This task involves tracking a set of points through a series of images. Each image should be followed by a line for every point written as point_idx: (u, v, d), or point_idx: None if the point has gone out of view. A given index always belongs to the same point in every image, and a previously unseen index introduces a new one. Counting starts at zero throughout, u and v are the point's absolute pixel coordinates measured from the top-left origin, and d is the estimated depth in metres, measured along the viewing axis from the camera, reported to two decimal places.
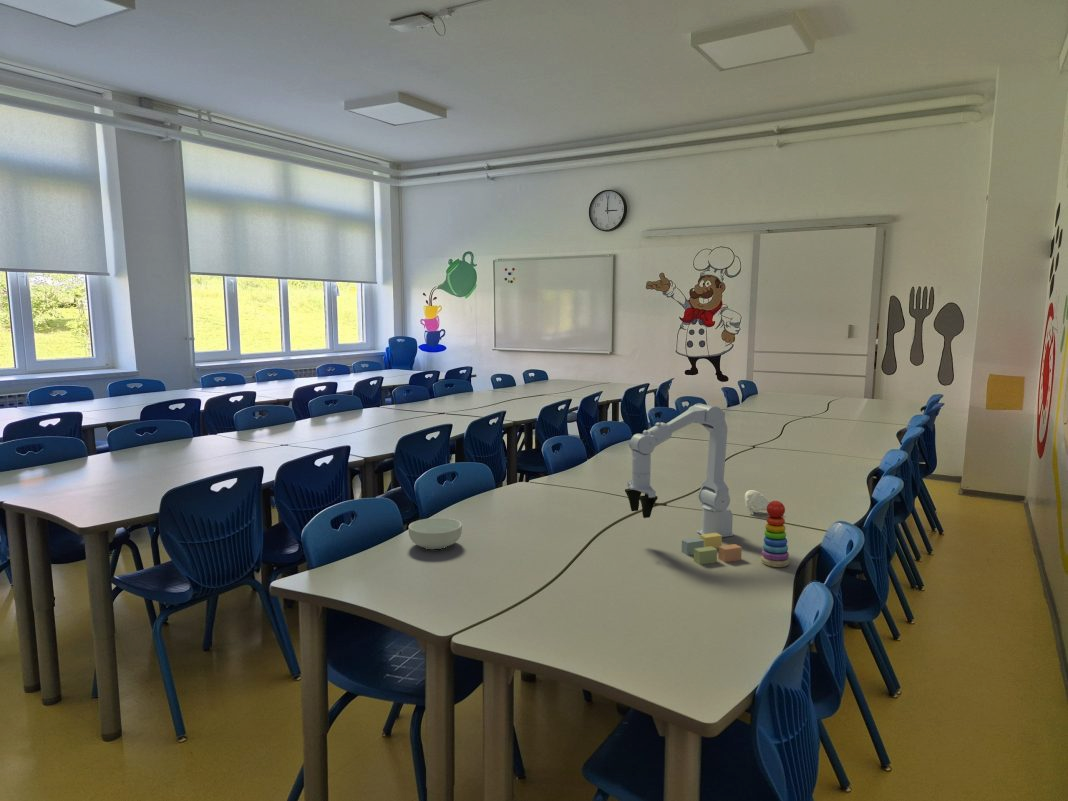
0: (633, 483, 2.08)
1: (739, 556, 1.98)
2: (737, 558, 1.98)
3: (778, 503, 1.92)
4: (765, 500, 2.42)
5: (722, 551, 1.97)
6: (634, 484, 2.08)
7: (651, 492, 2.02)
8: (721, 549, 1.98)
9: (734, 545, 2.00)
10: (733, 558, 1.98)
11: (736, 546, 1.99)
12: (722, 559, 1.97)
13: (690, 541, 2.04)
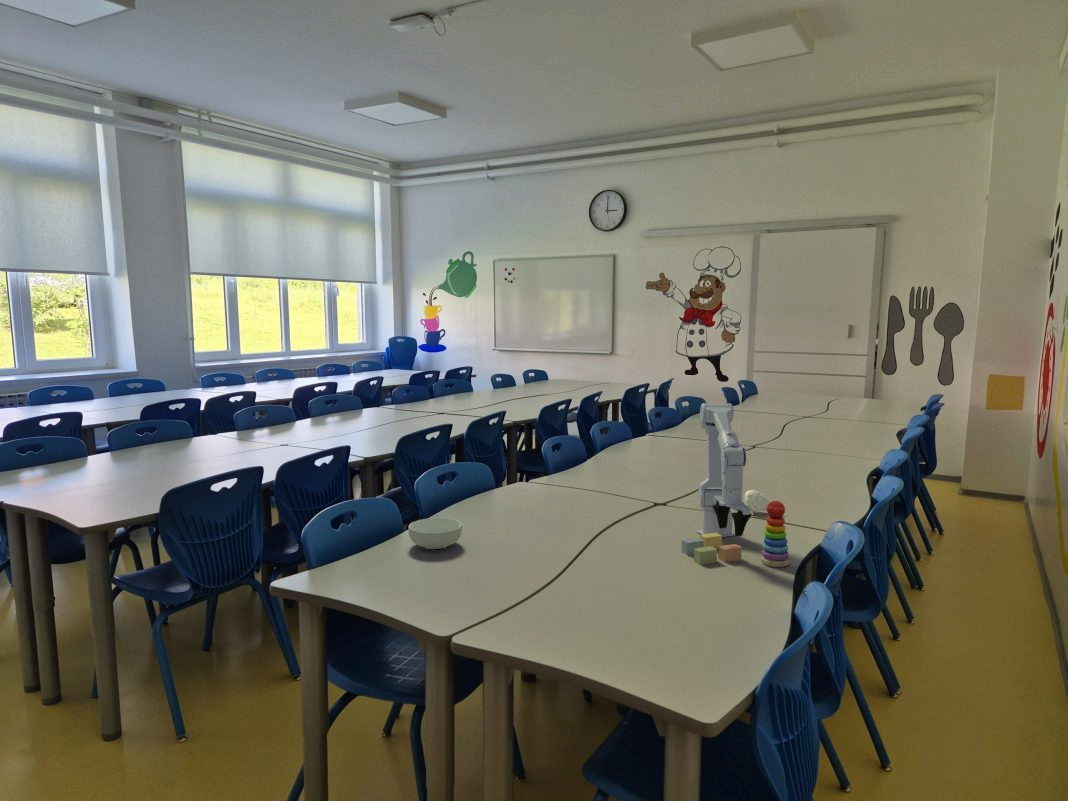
0: (724, 499, 1.95)
1: (739, 556, 1.98)
2: (737, 558, 1.98)
3: (778, 503, 1.92)
4: (765, 500, 2.42)
5: (721, 551, 1.97)
6: (725, 500, 1.95)
7: (746, 509, 1.90)
8: (721, 549, 1.98)
9: (734, 545, 2.00)
10: (733, 558, 1.98)
11: (736, 546, 1.99)
12: (722, 559, 1.97)
13: (690, 541, 2.04)
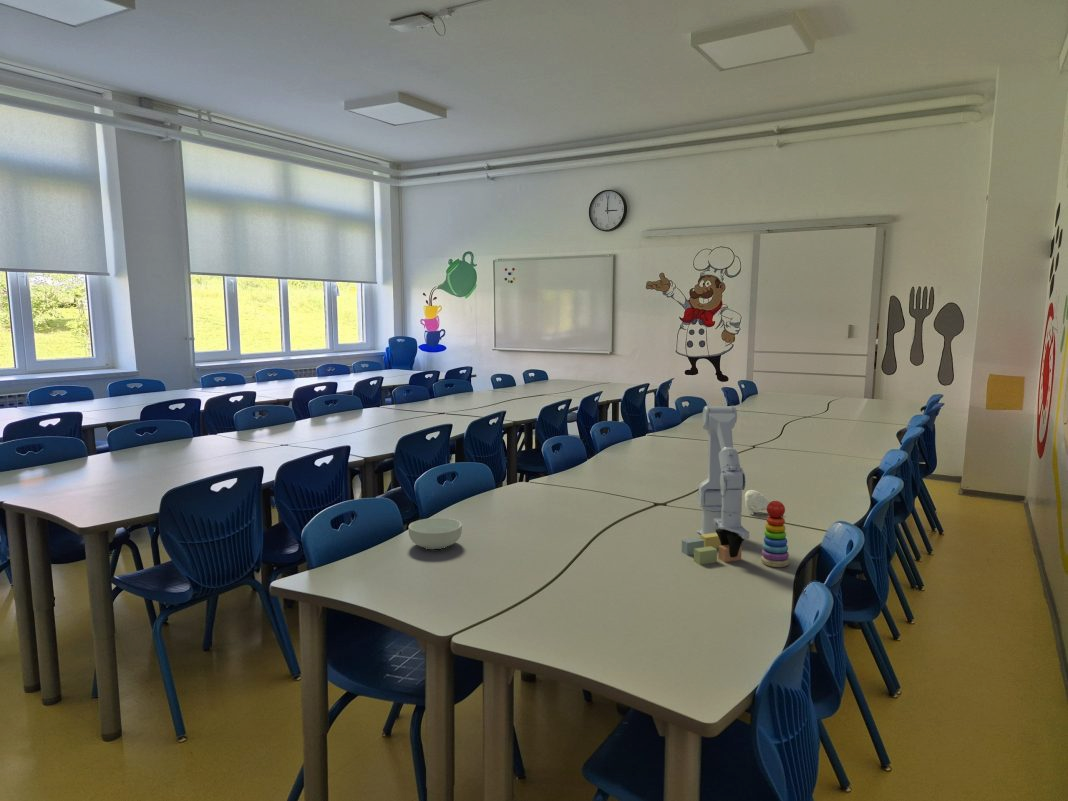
0: (723, 522, 1.96)
1: (739, 556, 1.98)
2: (737, 558, 1.98)
3: (778, 503, 1.92)
4: (765, 500, 2.42)
5: (722, 551, 1.97)
6: (724, 523, 1.96)
7: (745, 533, 1.91)
8: (721, 549, 1.98)
9: None
10: (733, 558, 1.98)
11: None
12: (722, 558, 1.97)
13: (690, 541, 2.04)
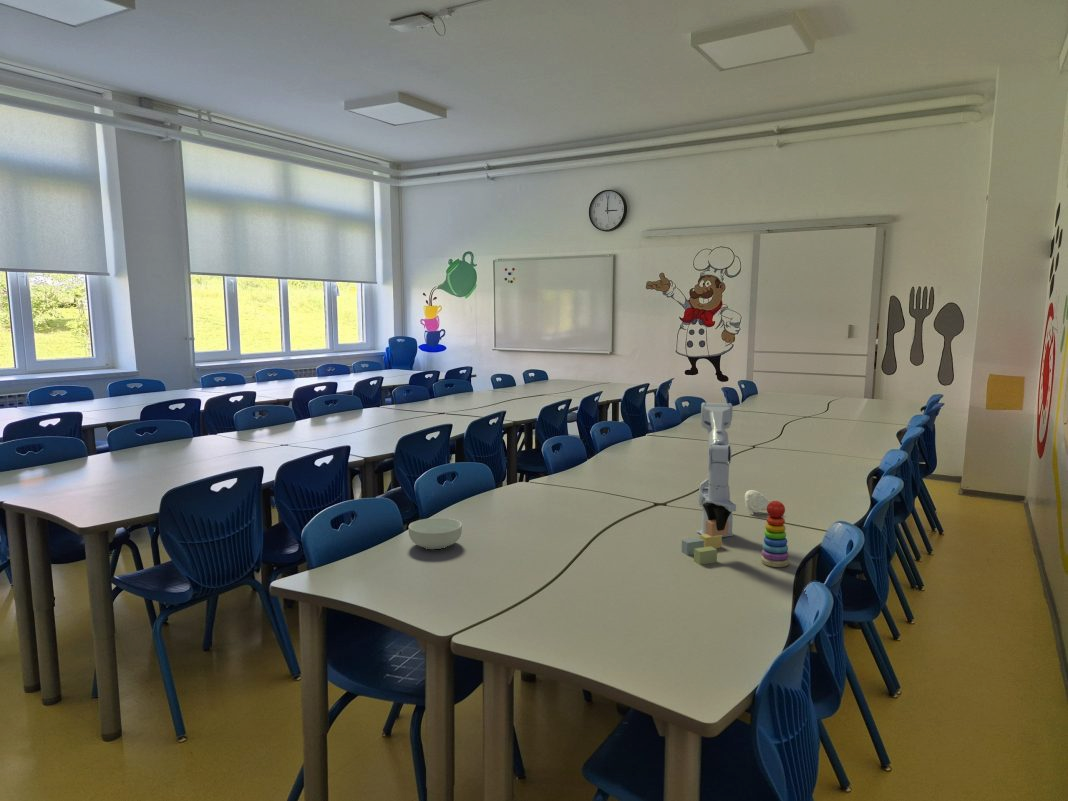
0: (710, 496, 1.98)
1: (726, 530, 2.00)
2: (724, 532, 1.99)
3: (778, 503, 1.92)
4: (765, 500, 2.42)
5: (709, 525, 1.99)
6: (711, 497, 1.97)
7: (732, 506, 1.92)
8: (708, 523, 1.99)
9: None
10: (720, 532, 1.99)
11: None
12: (709, 533, 1.99)
13: (690, 541, 2.04)
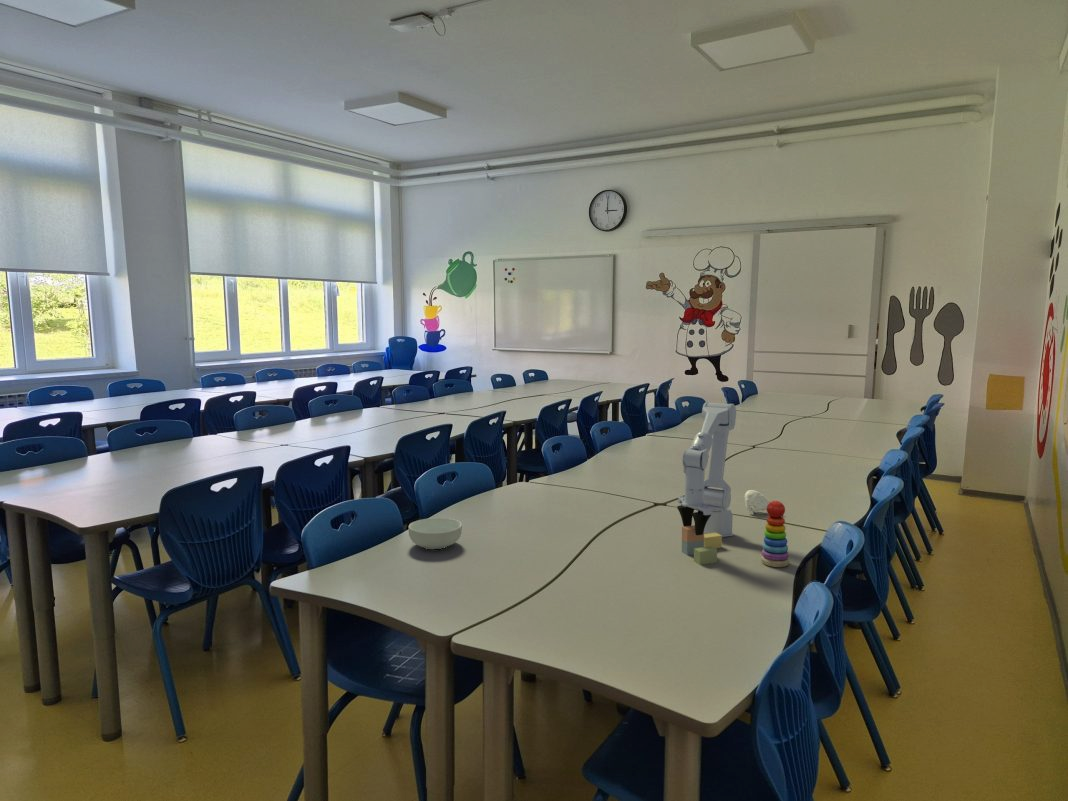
0: (686, 500, 2.02)
1: (702, 536, 2.04)
2: (700, 538, 2.04)
3: (778, 503, 1.92)
4: (765, 500, 2.42)
5: (684, 531, 2.03)
6: (687, 501, 2.01)
7: (706, 509, 1.96)
8: (684, 529, 2.03)
9: None
10: (696, 538, 2.03)
11: None
12: (685, 539, 2.03)
13: None
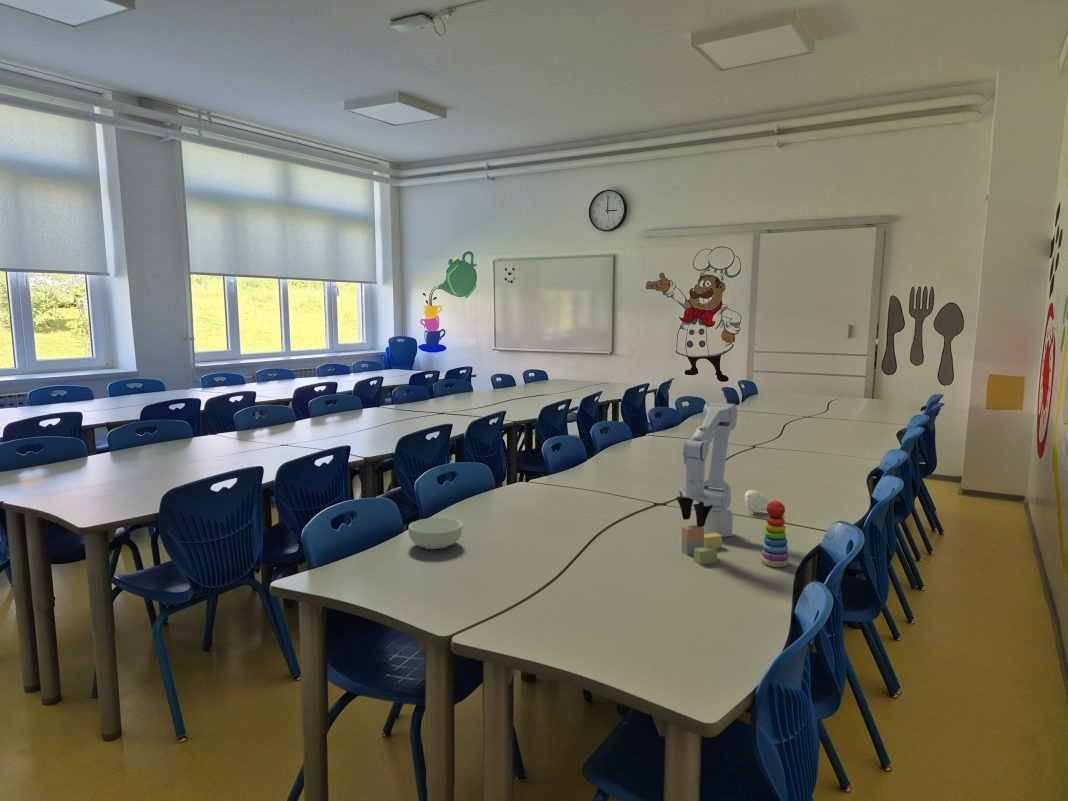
0: (686, 491, 2.01)
1: (702, 536, 2.04)
2: (700, 538, 2.04)
3: (778, 503, 1.92)
4: (765, 500, 2.43)
5: (684, 531, 2.03)
6: (688, 492, 2.01)
7: (707, 500, 1.96)
8: (684, 529, 2.03)
9: (697, 526, 2.05)
10: (696, 538, 2.03)
11: (699, 527, 2.04)
12: (685, 539, 2.03)
13: None
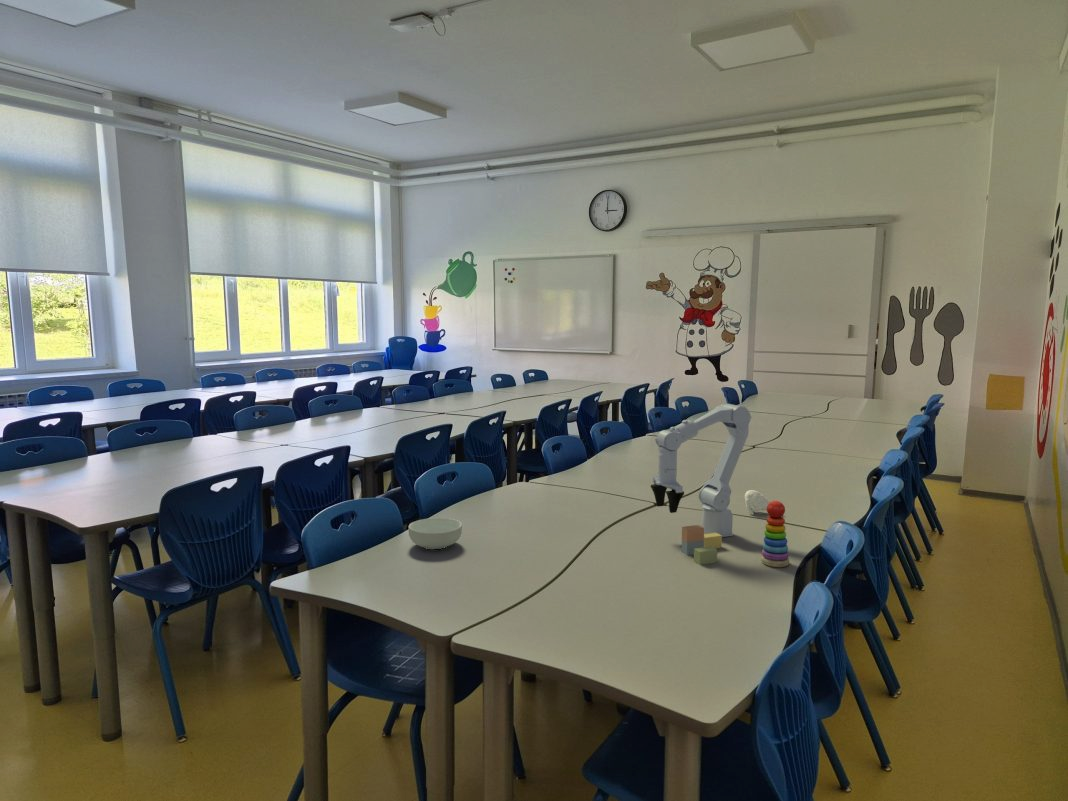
0: (660, 479, 2.12)
1: (702, 536, 2.04)
2: (700, 538, 2.04)
3: (778, 503, 1.92)
4: (765, 500, 2.42)
5: (684, 531, 2.03)
6: (661, 480, 2.12)
7: (678, 487, 2.07)
8: (684, 529, 2.03)
9: (697, 526, 2.05)
10: (696, 538, 2.03)
11: (699, 527, 2.04)
12: (685, 539, 2.03)
13: None
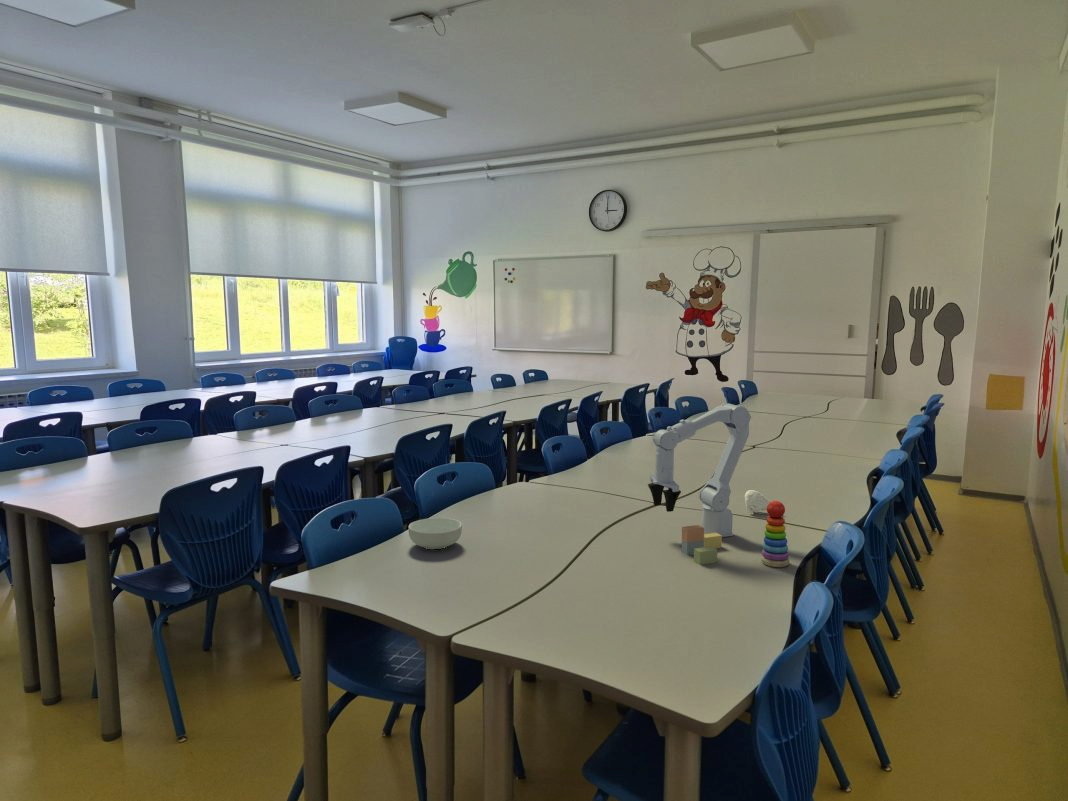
0: (657, 478, 2.13)
1: (702, 536, 2.04)
2: (700, 538, 2.04)
3: (778, 503, 1.92)
4: (765, 500, 2.42)
5: (685, 531, 2.03)
6: (658, 479, 2.13)
7: (675, 486, 2.08)
8: (684, 529, 2.03)
9: (697, 526, 2.05)
10: (696, 538, 2.03)
11: (699, 527, 2.04)
12: (685, 539, 2.03)
13: None
